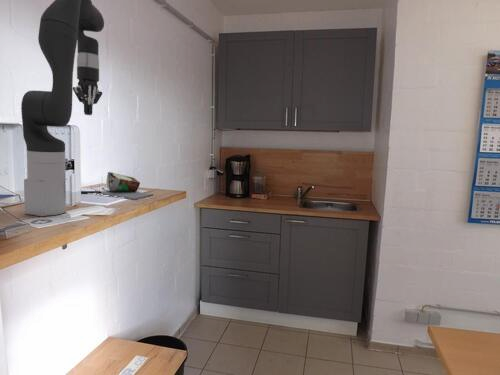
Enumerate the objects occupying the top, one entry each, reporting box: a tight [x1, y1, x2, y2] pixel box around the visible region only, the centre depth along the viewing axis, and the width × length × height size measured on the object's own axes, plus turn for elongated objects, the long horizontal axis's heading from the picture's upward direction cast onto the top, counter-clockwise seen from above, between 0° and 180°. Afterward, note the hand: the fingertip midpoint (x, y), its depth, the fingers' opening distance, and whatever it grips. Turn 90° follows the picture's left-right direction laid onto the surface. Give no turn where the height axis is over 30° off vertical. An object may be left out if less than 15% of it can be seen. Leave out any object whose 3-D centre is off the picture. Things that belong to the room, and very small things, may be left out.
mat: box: [95, 189, 154, 201], centre depth 135 cm, size 12×18×1 cm, turn 72°
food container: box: [106, 171, 141, 192], centre depth 140 cm, size 12×6×10 cm
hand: (88, 114), depth 135 cm, fingers closed
